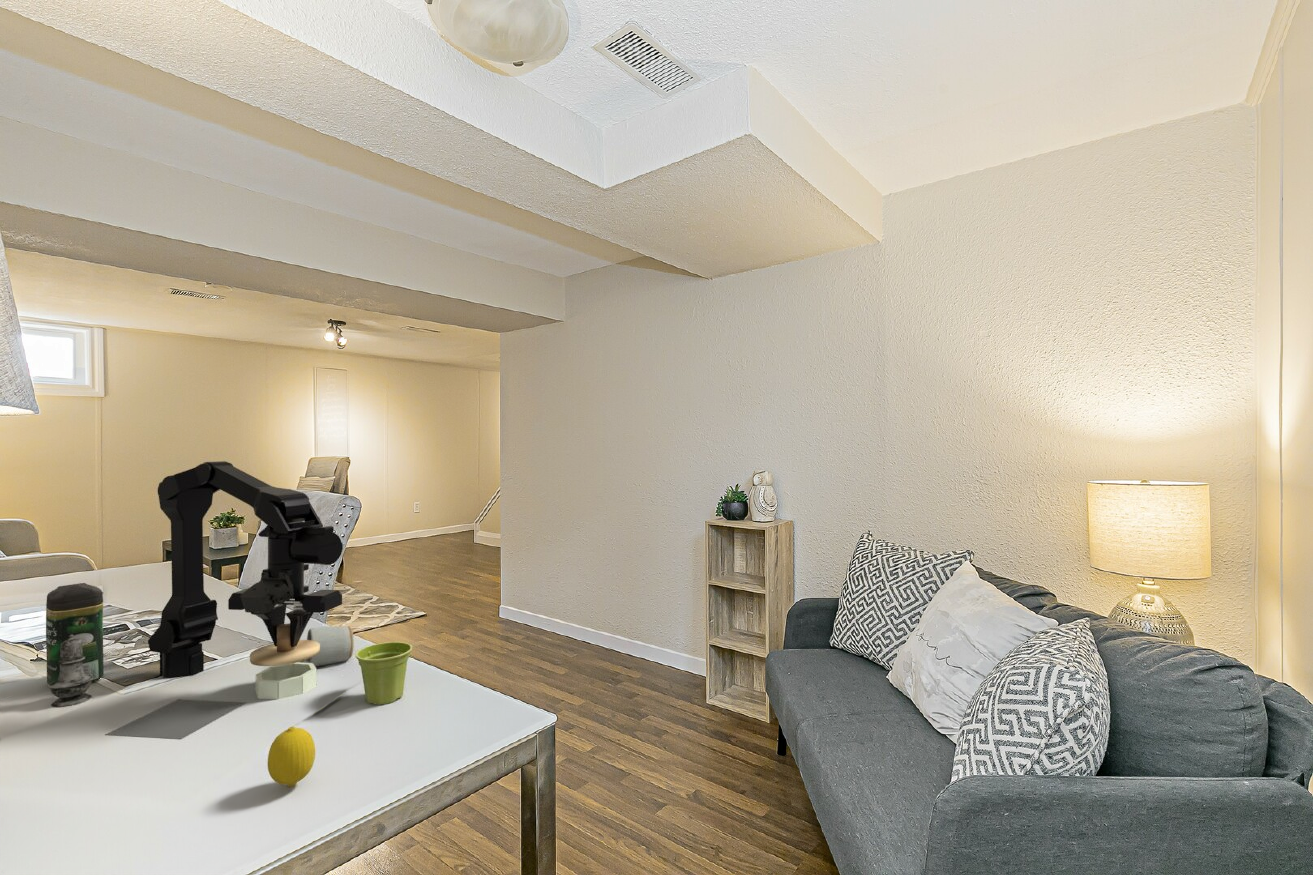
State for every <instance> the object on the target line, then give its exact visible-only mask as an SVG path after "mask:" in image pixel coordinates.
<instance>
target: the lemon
mask: <svg viewBox="0 0 1313 875" xmlns="http://www.w3.org/2000/svg"><path fill="white" fill-rule="evenodd" d="M314 741H315V740H314V739H313V737H312V734H311V733H310V732H309V731H307V730H306V729H304V728H301V727H296V726H290V727H289V726H288V728H287V729H285V730H284V731H283V732H280V733H279V734H278V735H277V736H276V737H275V738H274V740H273V742H272V743H271V745H270V747H269V751H268V756H267V770H268V773H269V776H270V778H271V779H272V780H273V781H274V782H275V783H278V784H279V785H283V786H288V787H289V788H292V787H294V786H296V784H297V783H299V782H300V781H302V780H303V779H305V777H307V775H309V773H310V771H311V769H312V768H313V766H314V762H315V759H316V747H315V742H314Z"/></svg>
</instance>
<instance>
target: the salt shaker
mask: <svg viewBox="0 0 1313 875" xmlns="http://www.w3.org/2000/svg"><path fill="white" fill-rule="evenodd" d="M69 637H70V639H68V640H66V641H64V642H63V643H62V644H61V646H60V660H59V661H58V662H57V663H58V664H60V674H59V677H58V679H57V680H56V681H54V682H52V683H50V684H49V685H48V688H50V691H51V693H52V695H53V696H54V697H56V698H57V699H55V700H54V701H52V702H51V703H50V707H52V708H67V707H72V706H77V705H79V704H82V703H83V704H84V703H85V702H87V701H89V700H90V699H92V695H91V694H90V693H89V694H88V693H86V692H87V690H88V689H89V688H90V686H91V684H92V683H91V680H92V679H93V678H94V677H93V676H92V675H86V674H85V673H84V671H83V659H85V656H82V641H81V640H80V639H75V638H73V635H72V634H71V635H70V636H69Z"/></svg>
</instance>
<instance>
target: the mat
mask: <svg viewBox="0 0 1313 875" xmlns="http://www.w3.org/2000/svg"><path fill="white" fill-rule="evenodd" d="M245 704H247V702H244V701H243V702H242V701H223V700H202V699H184V698H182V699H181V698H180V699H179V698H178V699H176V700H174V701H172V702H170V703H168V704H166V705H163V706H161V707H159V708H157V709H155V710H152V711H151V712H149V713H147V714H144V715H142V716H141V717H138V718H137V719H134V720H132V721H130V722H128V723H125V724H123V725H122V726H120V727H118V728H115V729H113V730H112V731H110V732H107V733H105V734H104V736H114V737H115V736H117V737H131V738H132V737H133V738H150V739H151V738H152V739H170V740H182V739H185V738H186V737H188V736H190V735H192V734H193V733H196V732H197V731H199V730H201V729H202V728H204V727H206V726H208V725H210V724H212V723H213V722H215V721H217V720H219V719H220V718H222V717H224V716H226V715H228V714H229V713H232V712H233V711H235V710H236V709H238V708H240V707H242V706H244V705H245Z"/></svg>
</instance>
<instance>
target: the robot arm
mask: <svg viewBox="0 0 1313 875" xmlns="http://www.w3.org/2000/svg"><path fill="white" fill-rule="evenodd" d="M219 491H222V492H224V493H226V494H228V495H230V496H232V497H233V498H235V499H237V500H238V501H241V502H243V503H244V504H247V506H250V507H251V508H252V509H253V512H254V516H256V517H257V518H258V519H259V520H260V521H262V522H263V523H264V524H265V525H266V527H264V528H263V529H262V530H261V531H260V532H258V536H259V537H261V538H267V568H266V569H262V572H261V574H260V577H261V578H260V580H259V581H258V582H256V583H254V584H253V585H251V586H250V587H248V588H244V589H241V590H238V591H235V592H233V593H231V595H229V596H230V597H229V598H228V604H227V606H228V607H227V609H228V610H233V611H234V610H235V611H242V610H244V612H245V613H250V615H252V616H256V617H258V618H260V619H261V620H262V621H263V623H264V625H265V627H266V629H267V631H268V634H269V635H270V638H271V640H272V644H274V645H275V647H277V626H279V625H282V624H286V622H285V621H286V620H285V619H286V617H287V619H289V623H290V643H291V647H295V646H297V644H298V642H299V640H301V637H302V635H303V634H304V631H305V629H306V627H307V625H308V623H309V621H310V619H311V618H312V617H313V615H314V613H317V614H321V613H325V612H327V611H331V610H333V609H335V608H337V607H340V606H341V605H343V595H342V592H340V590H339V589H320V590H317V591H314V592H311V593H308V594H305V593H307V592H309V589H310V588H309V587H310V586H309V585H305V571H308V570H309V569H310V568H309V566H310V565H320V566H321V565H323V566H330V565H334V564H335V563H337V562H338V560H339V559H340V558H341V555H342V553H343V548H344V545H343V542H342V540H341V538H340V536H339V535H338V534H336V533H334V531H335V530H334V526H333V525H326V526H324V525H323V523H322V521H321V518H320V517H319V516H318V514H317V512H316V511H315V508H314V507H313V506H312V504H311V502H310V498H309V496H308V495H307V494H306V493H304V492H302V491H297V490H293V489H291V488H282V487H276V486H272V485H270V484H268V483H266V482H265V481H262V480H260V479H258V478H257V477H254V476H253V475H251V474H249V473H247V472H245V471H243V470H241V469H239V468H237V467H236V466H234V465H233V464H232V463H231V462H228V461H225V460H223V461H206V462H205V461H204V462H203V463H199V464H198V465H197V466H195V467H192V468H190V469H187V470H184V471H181V472H177V473H175V474H172V475H168V476H166V477H164V478H163V479H162V481H161V482H159V483H158V486H157V495H158V502H159V507H160V510H161V511H162V512H163V513H164V515H165V516H166V517H167V518H168V519H169V521H170V544H171V545H170V547H171V550H170V551H171V552H170V554H171V558H170V559H171V561H170V562H171V596H170V598H169V600H168V601H167V603H166V604H165V606H164V607H163V609H162V610H161V615H160V616H161V618H160V625H159V626H158V627H157V629H156V630H155V631H154V632H153V634H152V635H151V636H150V637H149V638H148V640H147V645H148V648H149V651H150V652H153V653H159V676H162V678H165V679H177V678H183V677H193V676H196V675H198V674H200V673H203V672H204V671H205V669H204V668H205V666H204V664H205V662H204V660H205V657H204V654H205V652H204V651H203V643H204V642H207V641H210V640H211V639H212V636H213V632H214V630H215V627H216V622H217V621H218V620H219V617H218V612H217V607H218V602H217V600H216V599H211V598H210V597H209V596H208V594H206V592H205V582H204V581H205V580H204V571H205V570H204V530H203V529H204V526H203V525H204V518H205V516H206V514H207V513H208V511H209V510H210V508H211V507H212V505H213V498H214V494H215V493H217V492H219ZM288 605H290V606H293V610H290V611H288V612H287V606H288Z"/></svg>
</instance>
